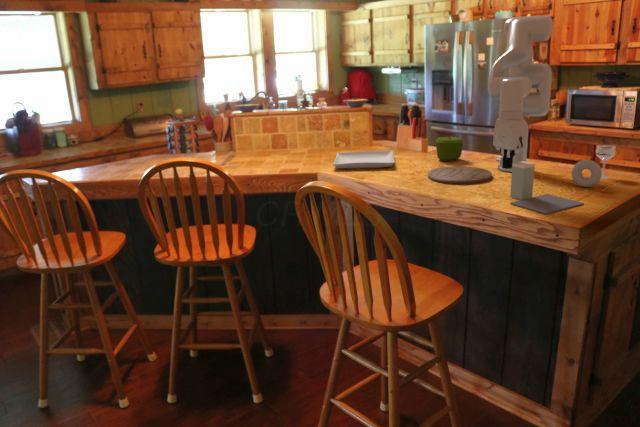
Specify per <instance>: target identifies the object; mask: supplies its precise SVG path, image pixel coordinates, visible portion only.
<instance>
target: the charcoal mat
mask: <svg viewBox="0 0 640 427" xmlns="http://www.w3.org/2000/svg"><path fill="white" fill-rule="evenodd" d="M509 204H510V205H513V206H514V207H518V208H521V209H525V210H528V211H532V212H535V213H538V214H542V215H549V214H552V213H557V212H560V211H565V210H568V209H572V208H575V207H579V206H580V207H581V206H583V205H584V202H581V201H577V200H573V199H570V198H566V197H561V196H557V195H553V194H550V193H546V194H541V195H537V196H532V198H528V199H524V200H517V201H513V202H510V203H509Z"/></svg>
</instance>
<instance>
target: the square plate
mask: <svg viewBox="0 0 640 427" xmlns="http://www.w3.org/2000/svg"><path fill="white" fill-rule="evenodd" d="M395 163H396V162H395V158H394V151H393V150H363V151H362V150H360V151H359V150H357V151H344V152H341V151H340V152H337V153H336V157H335V159H334V161H333V166H335V168H337V169H345V170H346V169H347V170H351V169H352V170H353V169H354V170H357V169H382V168H388V167H392V166H393V165H394V164H395Z"/></svg>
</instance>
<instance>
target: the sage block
mask: <svg viewBox="0 0 640 427" xmlns="http://www.w3.org/2000/svg"><path fill="white" fill-rule="evenodd" d="M535 165H536V163H533V162H528V161H526V162H525V161H521V162H516V163H512V172H511V180H510V182H511V183H510V195H509V197H510V198H512V199H515V200H518V201H520V200H524V199H528V198H532V197H533V192H534V190H533V189H534V179H535Z"/></svg>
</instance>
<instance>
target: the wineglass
mask: <svg viewBox="0 0 640 427" xmlns="http://www.w3.org/2000/svg"><path fill="white" fill-rule="evenodd" d="M616 148H617V146H616V145H613V144H597V145H596V149H595V155H596V157H597V158H599V159H600V160H602V162H603V163H602V176H601V179H600V180H605V179H606V180H607V179H611V177H610V176H607V175H604V173H605V168H606V162H607V161H608V160H611V159H612V158H614V156H615V155H616V152H617V151H616Z"/></svg>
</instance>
